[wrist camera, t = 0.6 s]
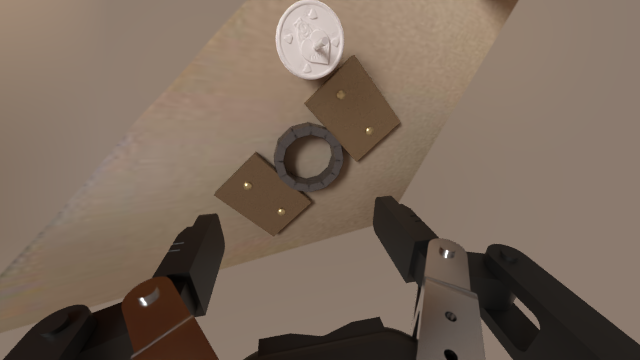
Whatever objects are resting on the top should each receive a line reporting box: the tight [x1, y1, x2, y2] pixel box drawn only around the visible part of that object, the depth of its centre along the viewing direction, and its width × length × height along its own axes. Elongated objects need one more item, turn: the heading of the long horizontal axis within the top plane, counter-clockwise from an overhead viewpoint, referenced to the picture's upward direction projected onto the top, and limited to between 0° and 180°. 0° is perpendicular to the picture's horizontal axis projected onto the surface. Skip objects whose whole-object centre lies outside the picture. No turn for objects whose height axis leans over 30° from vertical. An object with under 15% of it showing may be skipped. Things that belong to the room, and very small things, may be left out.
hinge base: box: [214, 55, 400, 236], centre depth 34 cm, size 28×12×2 cm, turn 132°
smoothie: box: [276, 0, 344, 80], centre depth 23 cm, size 6×6×14 cm
